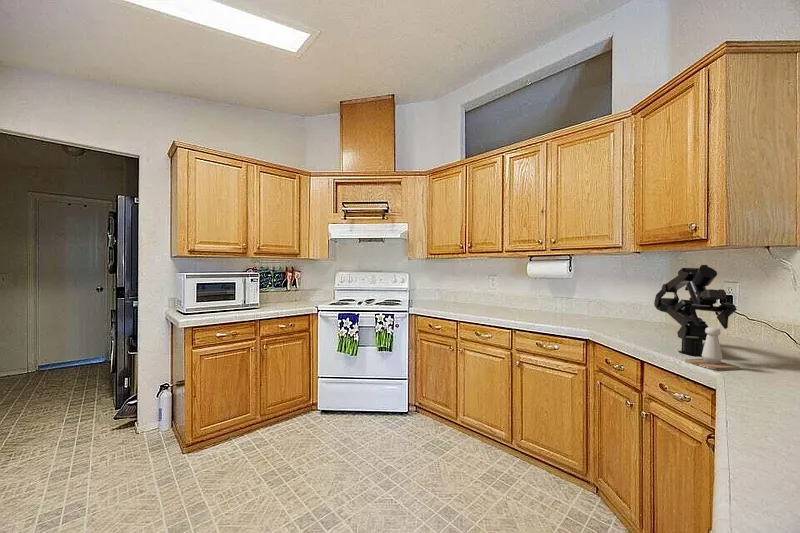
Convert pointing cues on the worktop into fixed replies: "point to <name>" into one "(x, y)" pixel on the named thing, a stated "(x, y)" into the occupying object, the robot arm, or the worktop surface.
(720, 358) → the salt shaker
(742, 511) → the worktop surface
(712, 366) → the board
